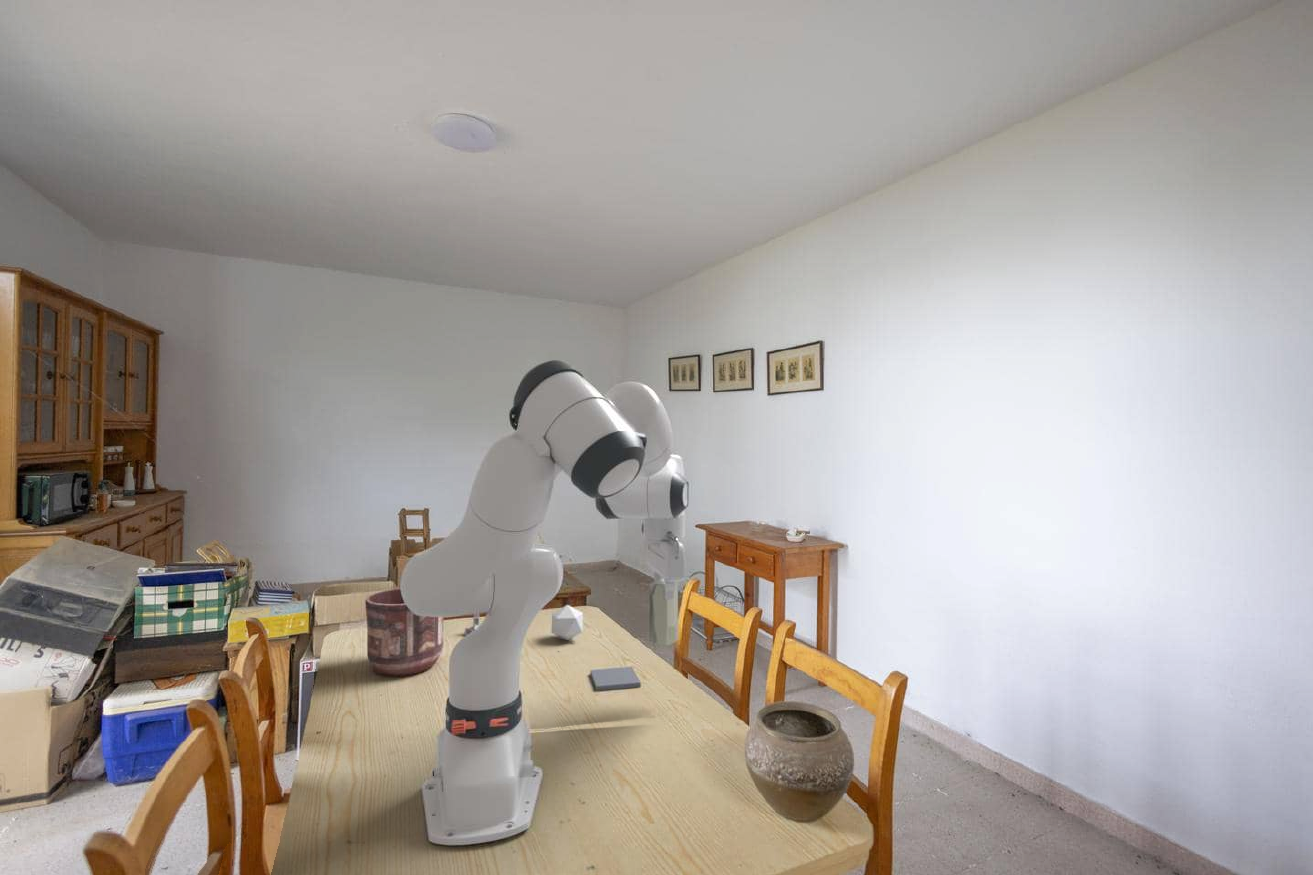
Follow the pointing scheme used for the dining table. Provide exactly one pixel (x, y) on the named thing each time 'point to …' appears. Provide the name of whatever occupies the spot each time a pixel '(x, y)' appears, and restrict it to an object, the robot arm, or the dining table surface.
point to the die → (567, 622)
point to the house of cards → (475, 625)
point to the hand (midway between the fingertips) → (663, 594)
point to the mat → (615, 678)
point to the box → (663, 615)
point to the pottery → (400, 636)
